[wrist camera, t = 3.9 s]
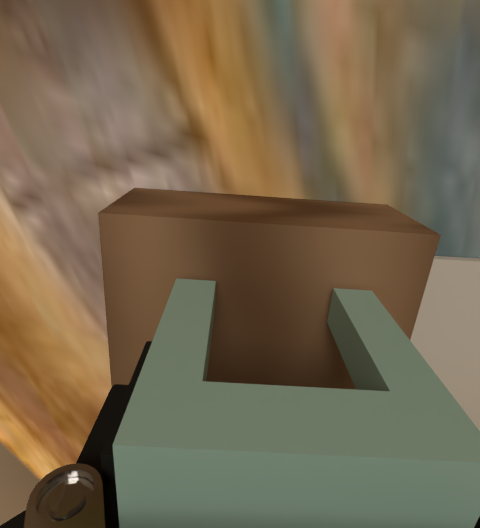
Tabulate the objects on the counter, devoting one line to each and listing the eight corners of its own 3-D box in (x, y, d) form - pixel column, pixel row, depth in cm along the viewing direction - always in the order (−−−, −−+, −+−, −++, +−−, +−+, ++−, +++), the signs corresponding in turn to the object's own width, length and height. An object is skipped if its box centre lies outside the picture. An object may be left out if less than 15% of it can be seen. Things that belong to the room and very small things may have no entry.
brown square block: (387, 204, 14) (440, 235, 11) (343, 401, 18) (371, 474, 14) (134, 188, 14) (98, 212, 10) (142, 392, 18) (117, 465, 14)
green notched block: (371, 290, 11) (504, 463, 6) (338, 435, 13) (409, 661, 8) (176, 278, 11) (112, 444, 5) (175, 427, 13) (130, 653, 8)
